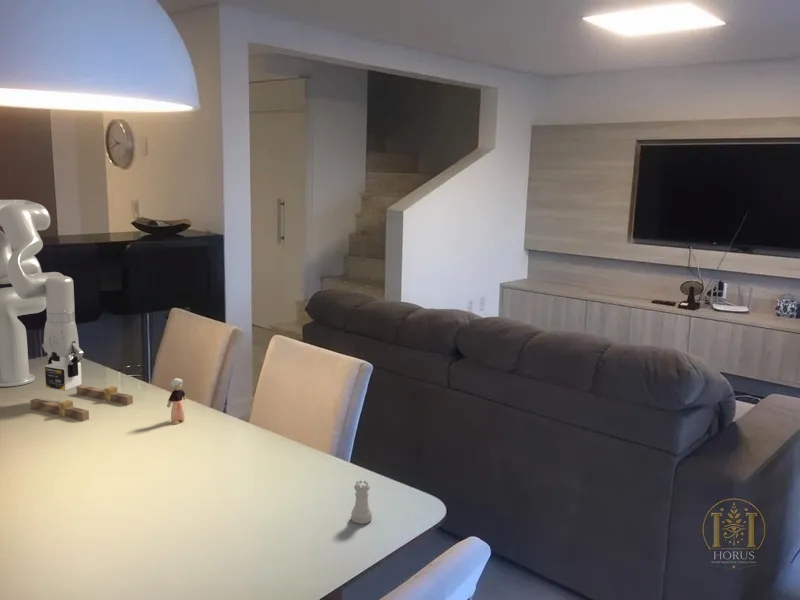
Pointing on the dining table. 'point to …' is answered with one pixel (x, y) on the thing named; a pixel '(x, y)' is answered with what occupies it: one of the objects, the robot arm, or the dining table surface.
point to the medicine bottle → (61, 374)
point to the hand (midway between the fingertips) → (63, 373)
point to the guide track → (76, 413)
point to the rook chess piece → (361, 504)
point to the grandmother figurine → (177, 402)
